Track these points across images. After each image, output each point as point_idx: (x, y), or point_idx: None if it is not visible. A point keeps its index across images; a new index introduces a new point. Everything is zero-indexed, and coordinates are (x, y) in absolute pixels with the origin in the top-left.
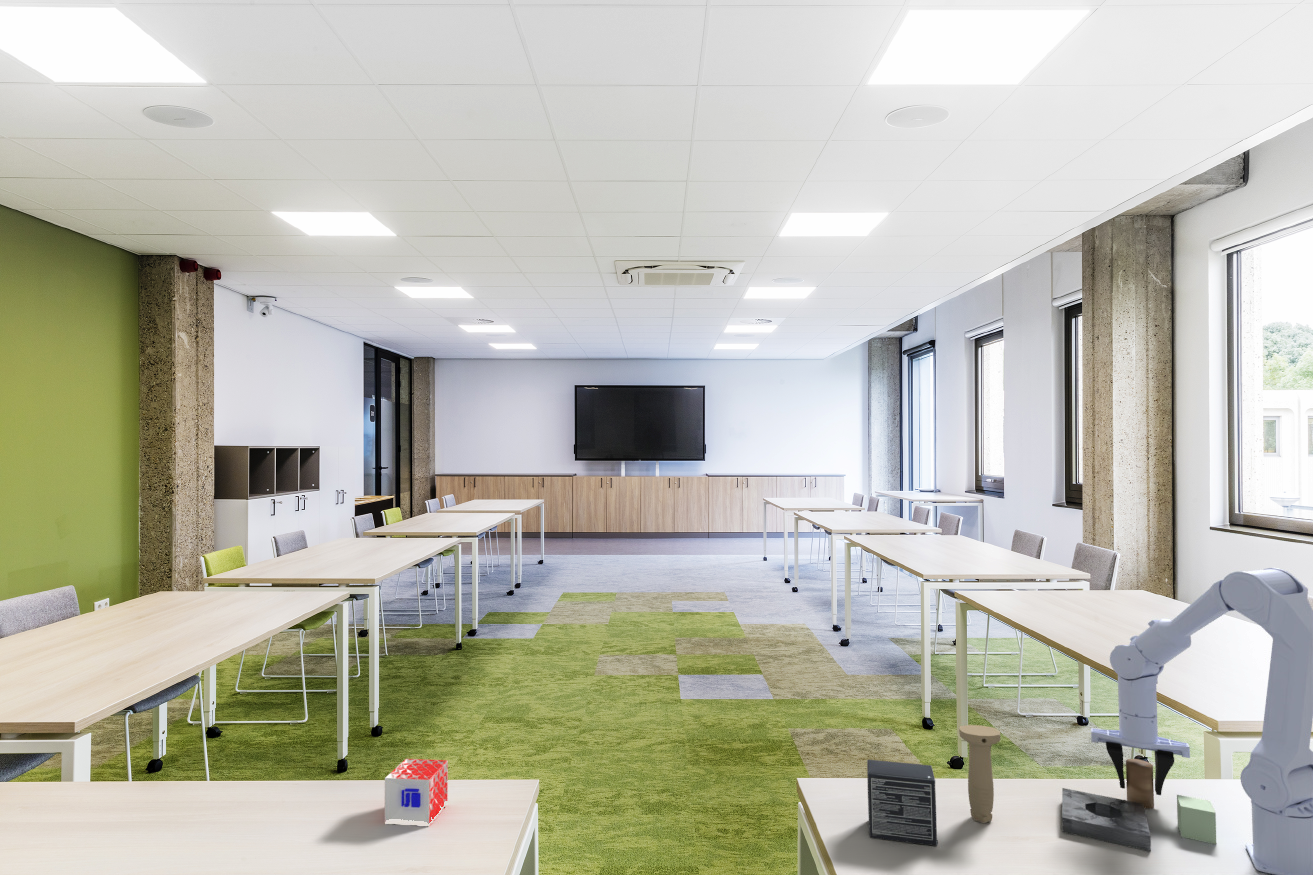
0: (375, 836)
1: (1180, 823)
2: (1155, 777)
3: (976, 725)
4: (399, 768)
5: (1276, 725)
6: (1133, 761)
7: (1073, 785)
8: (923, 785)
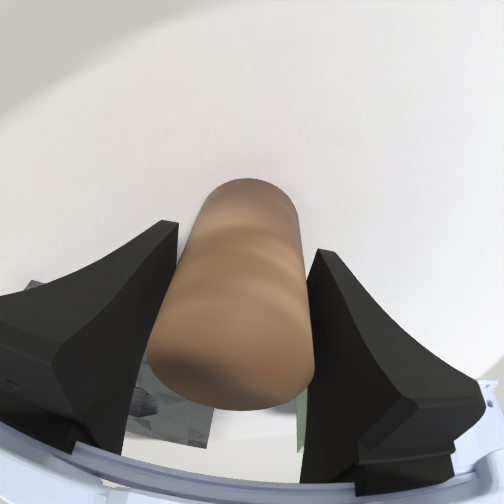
0: None
1: (300, 398)
2: (329, 291)
3: None
4: None
5: None
6: (195, 349)
7: (31, 146)
8: None
